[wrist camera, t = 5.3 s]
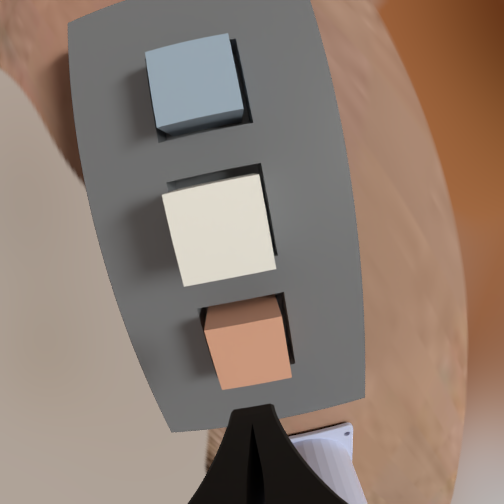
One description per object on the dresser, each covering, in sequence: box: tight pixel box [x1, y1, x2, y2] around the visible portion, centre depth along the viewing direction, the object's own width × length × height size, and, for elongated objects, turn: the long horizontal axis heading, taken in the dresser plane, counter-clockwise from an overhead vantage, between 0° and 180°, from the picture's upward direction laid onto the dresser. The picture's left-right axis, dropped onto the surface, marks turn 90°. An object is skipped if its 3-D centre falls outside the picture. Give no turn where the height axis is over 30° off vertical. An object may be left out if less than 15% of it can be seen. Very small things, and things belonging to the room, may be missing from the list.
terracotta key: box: [204, 294, 292, 390], centre depth 16 cm, size 3×3×4 cm
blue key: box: [145, 33, 244, 136], centre depth 13 cm, size 3×3×4 cm
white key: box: [162, 173, 276, 287], centre depth 13 cm, size 3×3×4 cm
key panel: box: [68, 0, 365, 432], centre depth 15 cm, size 24×12×3 cm, turn 11°
